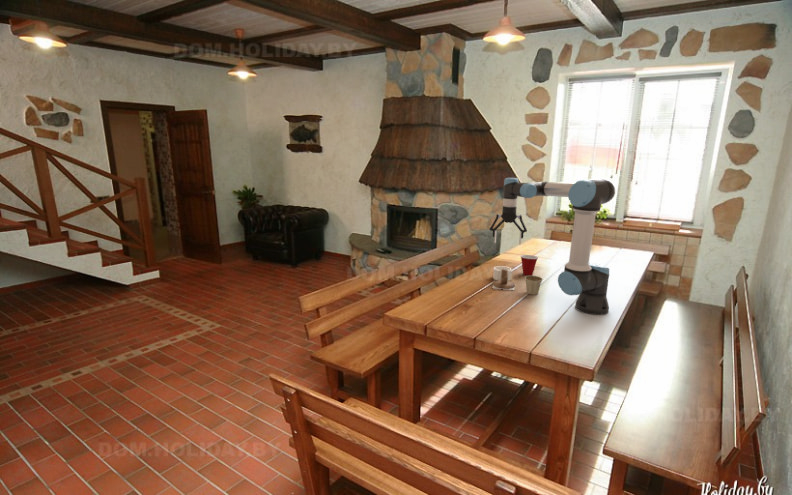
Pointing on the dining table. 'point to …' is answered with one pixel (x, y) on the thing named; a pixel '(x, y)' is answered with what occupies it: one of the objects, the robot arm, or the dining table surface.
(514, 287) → the mat
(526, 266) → the plastic cup
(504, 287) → the lid
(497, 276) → the bowl
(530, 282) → the flower pot
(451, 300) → the dining table surface
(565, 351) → the dining table surface
